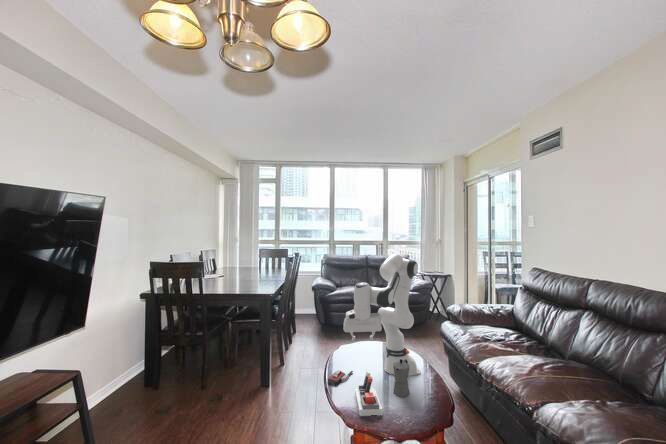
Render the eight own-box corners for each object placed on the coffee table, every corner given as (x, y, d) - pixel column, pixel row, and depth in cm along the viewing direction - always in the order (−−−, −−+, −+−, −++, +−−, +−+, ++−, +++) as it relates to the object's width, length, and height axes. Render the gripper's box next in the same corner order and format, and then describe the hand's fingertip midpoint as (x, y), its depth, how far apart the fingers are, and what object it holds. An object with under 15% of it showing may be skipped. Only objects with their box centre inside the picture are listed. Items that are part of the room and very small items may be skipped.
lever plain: (365, 389, 161) (369, 371, 161) (366, 391, 158) (370, 373, 159) (362, 388, 161) (366, 370, 161) (362, 390, 158) (367, 372, 159)
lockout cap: (374, 406, 146) (374, 396, 146) (366, 406, 145) (366, 397, 146) (372, 401, 150) (372, 392, 150) (364, 401, 149) (364, 392, 150)
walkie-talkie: (339, 388, 169) (354, 373, 187) (339, 380, 169) (354, 366, 187) (325, 384, 174) (341, 370, 191) (325, 376, 174) (341, 363, 191)
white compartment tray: (374, 393, 162) (374, 384, 163) (382, 415, 143) (382, 404, 144) (355, 394, 162) (354, 385, 162) (359, 416, 143) (359, 405, 143)
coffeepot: (405, 401, 156) (405, 366, 156) (388, 395, 161) (388, 361, 161) (415, 388, 168) (414, 356, 169) (399, 383, 174) (398, 352, 174)
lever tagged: (367, 395, 155) (371, 376, 155) (367, 398, 152) (372, 379, 153) (363, 394, 155) (368, 376, 155) (364, 397, 152) (369, 378, 153)
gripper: (380, 311, 162) (380, 336, 162) (343, 312, 161) (343, 338, 161) (382, 314, 156) (383, 341, 155) (344, 315, 155) (344, 342, 154)
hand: (362, 339), depth 158 cm, fingers open, 8 cm apart
